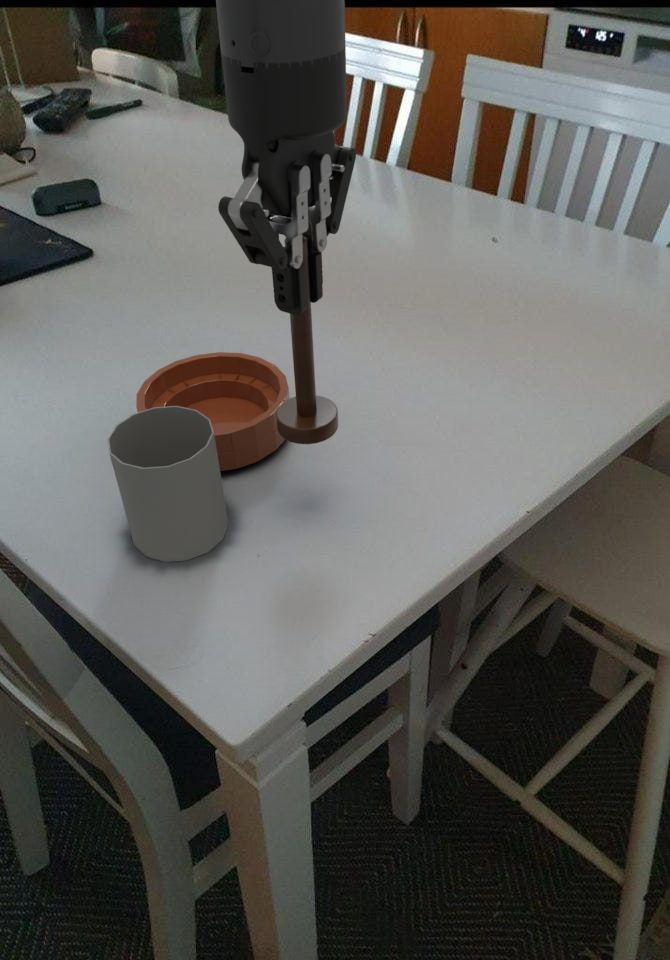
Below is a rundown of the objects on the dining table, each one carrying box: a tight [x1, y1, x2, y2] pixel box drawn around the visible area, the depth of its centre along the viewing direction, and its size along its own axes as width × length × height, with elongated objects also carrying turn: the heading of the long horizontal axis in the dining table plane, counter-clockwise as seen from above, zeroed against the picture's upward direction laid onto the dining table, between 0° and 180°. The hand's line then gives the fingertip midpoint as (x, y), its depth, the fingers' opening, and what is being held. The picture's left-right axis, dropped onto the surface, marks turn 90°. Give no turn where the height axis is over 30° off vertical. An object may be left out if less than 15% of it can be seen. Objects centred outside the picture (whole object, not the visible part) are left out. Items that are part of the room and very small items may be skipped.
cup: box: [107, 406, 230, 563], centre depth 68 cm, size 8×8×10 cm
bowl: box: [135, 351, 291, 472], centre depth 80 cm, size 15×15×5 cm
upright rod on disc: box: [276, 236, 339, 445], centre depth 61 cm, size 5×5×16 cm
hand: (299, 304), depth 60 cm, fingers closed on upright rod on disc
